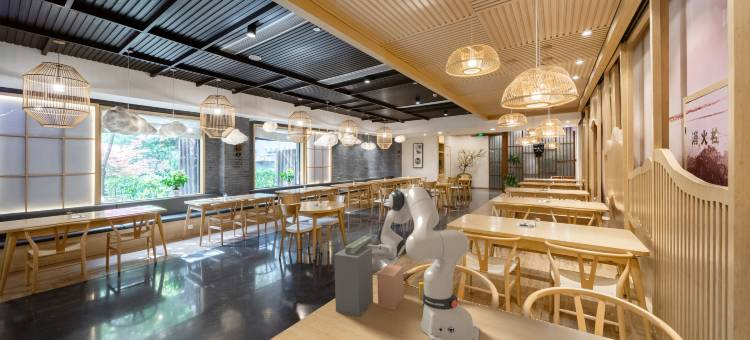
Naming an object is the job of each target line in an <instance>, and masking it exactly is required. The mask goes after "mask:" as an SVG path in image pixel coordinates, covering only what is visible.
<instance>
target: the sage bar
mask: <svg viewBox="0 0 750 340" xmlns="http://www.w3.org/2000/svg"><path fill="white" fill-rule="evenodd" d="M372 239H373V238H372V236H367V235H364V236H362V237H360V238H358V239H357V240H354V241H353V242H351V243H350V244H347V245H346V246H344V249H345V253H346V254H355V253H356V252H358V251H359V250H361V249H362V248H364V247H366V246H367V245H371V244H372Z"/></svg>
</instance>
